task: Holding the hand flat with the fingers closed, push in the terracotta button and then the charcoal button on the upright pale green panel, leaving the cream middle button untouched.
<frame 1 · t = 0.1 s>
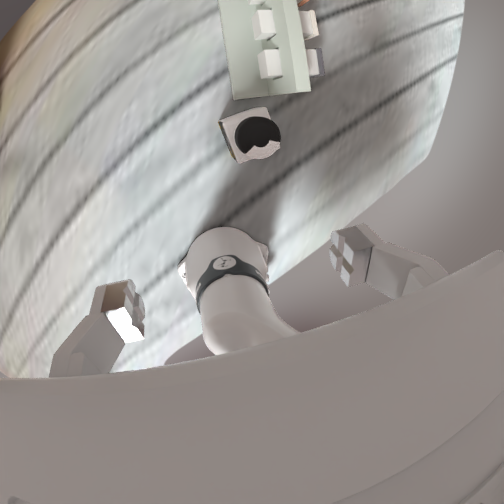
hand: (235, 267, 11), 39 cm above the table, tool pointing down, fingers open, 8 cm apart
panel: (263, 35, 36), on the table
medicine bottle: (243, 131, 44), on the table
button cream: (284, 24, 30), point 7 cm above the table, slide at 0.0 cm
button charcoal: (290, 63, 33), point 7 cm above the table, slide at 0.0 cm
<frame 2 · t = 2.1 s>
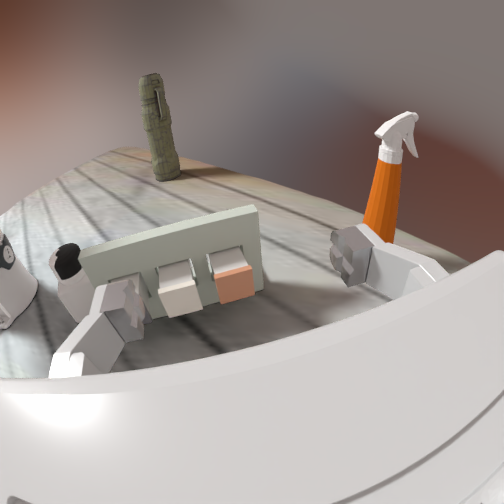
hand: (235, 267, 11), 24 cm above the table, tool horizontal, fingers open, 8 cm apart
button terracotta: (227, 265, 37), point 7 cm above the table, slide at 0.0 cm
panel: (188, 305, 41), on the table
green thermos flask: (168, 176, 85), on the table
medicine bottle: (92, 304, 42), on the table
spray bottle: (377, 257, 46), on the table
button cream: (177, 278, 36), point 7 cm above the table, slide at 0.0 cm
button charcoal: (130, 291, 34), point 7 cm above the table, slide at 0.0 cm
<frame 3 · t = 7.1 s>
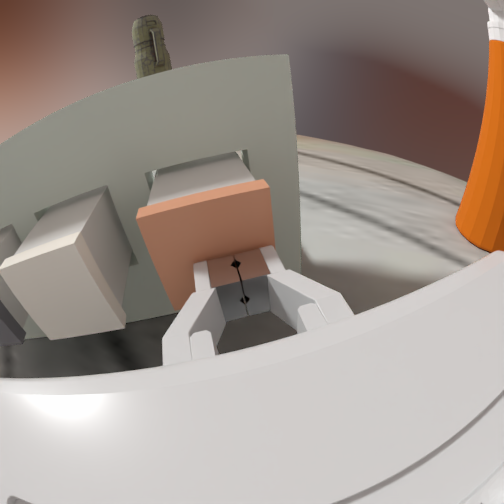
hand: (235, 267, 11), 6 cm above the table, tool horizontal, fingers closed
button terracotta: (205, 205, 14), point 7 cm above the table, slide at 0.4 cm, touching gripper
panel: (132, 311, 18), on the table
green thermos flask: (168, 139, 64), on the table
spray bottle: (488, 230, 20), on the table
button cream: (82, 242, 12), point 7 cm above the table, slide at 0.0 cm
button charcoal: (4, 269, 12), point 7 cm above the table, slide at 0.0 cm
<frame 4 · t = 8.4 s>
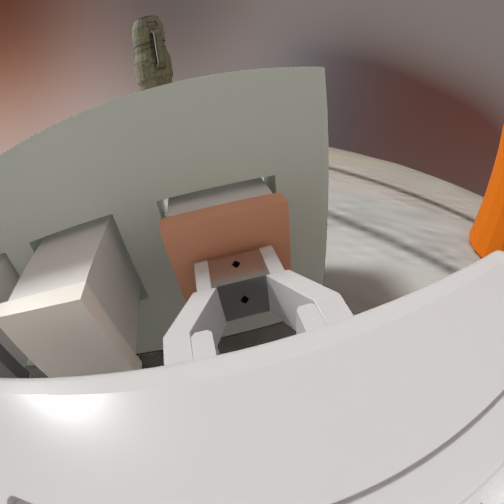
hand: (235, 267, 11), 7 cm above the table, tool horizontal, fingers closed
button terracotta: (218, 214, 14), point 7 cm above the table, slide at 2.7 cm
panel: (141, 341, 16), on the table
green thermos flask: (168, 144, 62), on the table
spray bottle: (500, 246, 19), on the table
button cream: (85, 277, 11), point 7 cm above the table, slide at 0.0 cm
button charcoal: (0, 300, 10), point 7 cm above the table, slide at 0.0 cm
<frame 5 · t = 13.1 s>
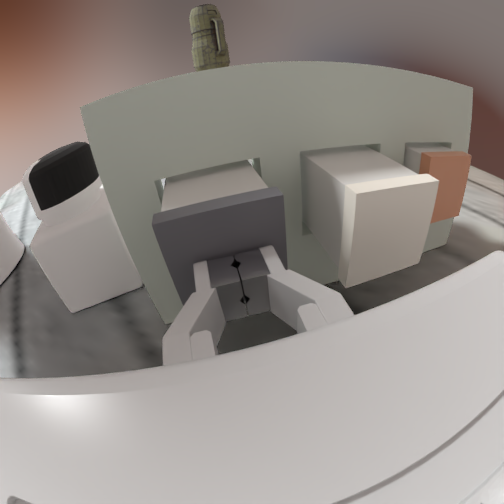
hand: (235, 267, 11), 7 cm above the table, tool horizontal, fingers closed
button terracotta: (405, 164, 17), point 7 cm above the table, slide at 2.7 cm
panel: (329, 272, 19), on the table
green thermos flask: (222, 129, 65), on the table
medicine bottle: (106, 278, 22), on the table
button cream: (346, 192, 14), point 7 cm above the table, slide at 0.0 cm
button charcoal: (215, 210, 14), point 7 cm above the table, slide at 0.9 cm, touching gripper
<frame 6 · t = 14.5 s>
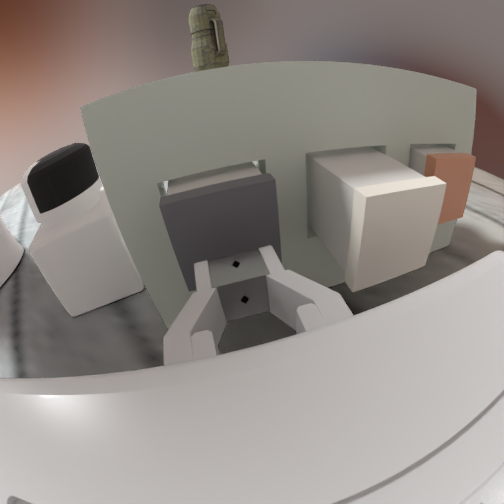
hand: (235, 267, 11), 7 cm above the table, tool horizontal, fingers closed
button terracotta: (409, 165, 17), point 7 cm above the table, slide at 2.7 cm
panel: (333, 274, 19), on the table
green thermos flask: (222, 130, 65), on the table
medicine bottle: (107, 281, 22), on the table
button cream: (351, 194, 14), point 7 cm above the table, slide at 0.0 cm
button charcoal: (215, 198, 15), point 7 cm above the table, slide at 2.7 cm
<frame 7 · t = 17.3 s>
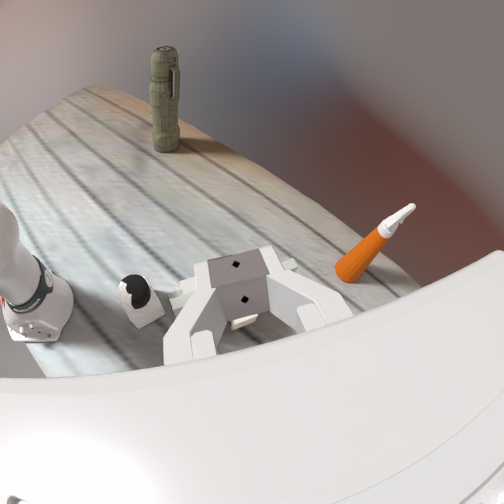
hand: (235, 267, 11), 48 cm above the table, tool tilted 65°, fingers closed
panel: (230, 307, 59), on the table
green thermos flask: (166, 145, 83), on the table
medicine bottle: (144, 308, 56), on the table
spray bottle: (351, 268, 70), on the table
button cream: (236, 303, 53), point 7 cm above the table, slide at 0.0 cm
button charcoal: (197, 302, 51), point 7 cm above the table, slide at 2.7 cm
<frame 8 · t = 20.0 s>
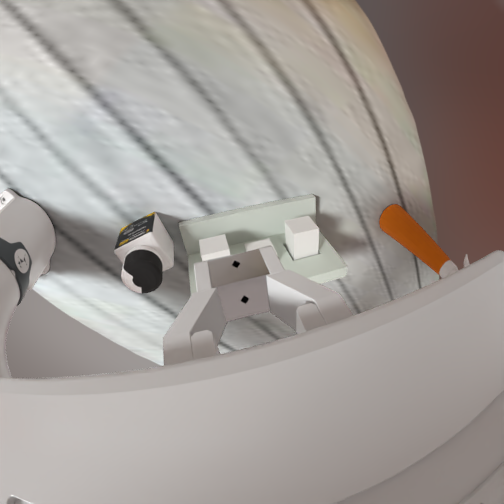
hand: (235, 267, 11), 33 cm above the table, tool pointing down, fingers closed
button terracotta: (301, 246, 45), point 7 cm above the table, slide at 2.7 cm
panel: (252, 240, 51), on the table
medicine bottle: (147, 234, 45), on the table
spray bottle: (396, 215, 56), on the table
button cream: (262, 269, 46), point 7 cm above the table, slide at 0.0 cm
button charcoal: (218, 266, 43), point 7 cm above the table, slide at 2.7 cm
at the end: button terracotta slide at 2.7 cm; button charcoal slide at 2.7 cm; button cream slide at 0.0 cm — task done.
